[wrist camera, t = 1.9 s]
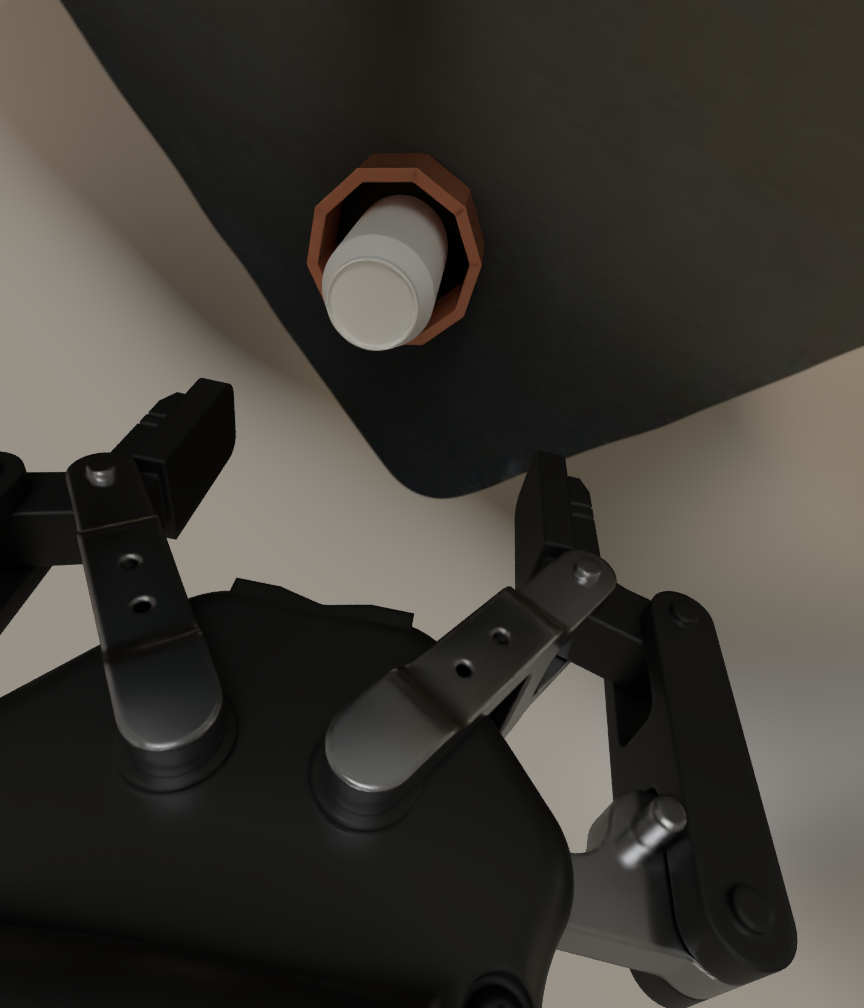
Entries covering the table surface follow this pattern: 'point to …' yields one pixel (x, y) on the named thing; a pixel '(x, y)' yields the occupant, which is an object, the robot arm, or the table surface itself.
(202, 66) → the table surface
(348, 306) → the beverage can
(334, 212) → the holder
